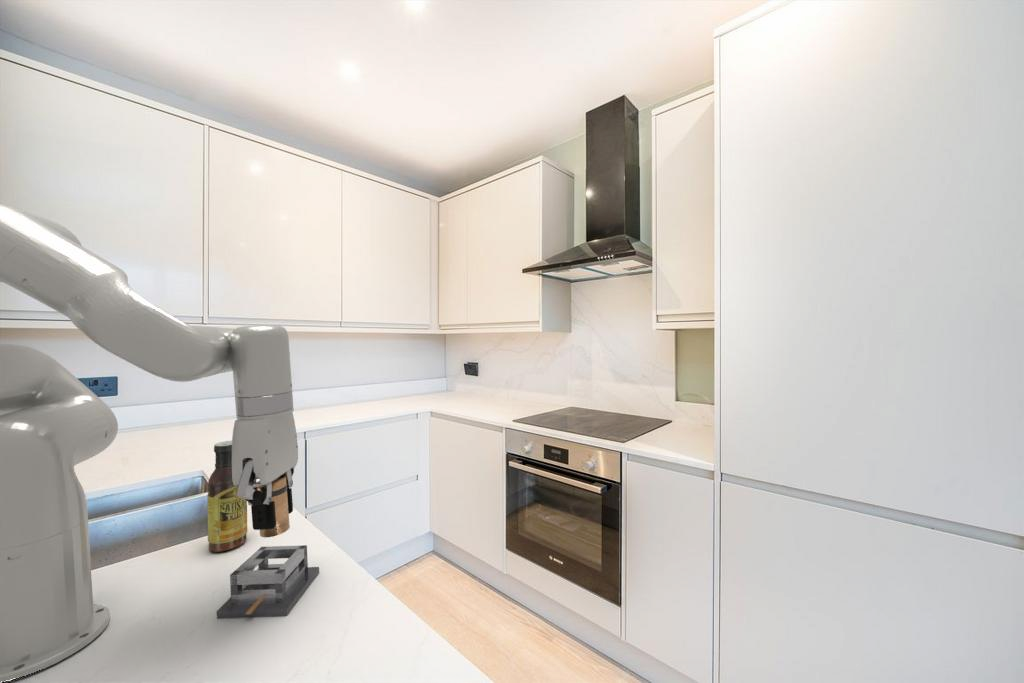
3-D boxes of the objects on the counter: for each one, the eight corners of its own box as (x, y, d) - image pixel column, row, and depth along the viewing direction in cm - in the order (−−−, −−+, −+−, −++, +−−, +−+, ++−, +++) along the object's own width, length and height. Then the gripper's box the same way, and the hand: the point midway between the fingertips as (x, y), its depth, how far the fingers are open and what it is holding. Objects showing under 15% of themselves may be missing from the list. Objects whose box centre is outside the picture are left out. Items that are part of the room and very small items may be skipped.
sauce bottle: (222, 556, 72) (217, 450, 72) (200, 550, 74) (195, 447, 74) (256, 538, 78) (252, 440, 78) (235, 533, 81) (230, 437, 80)
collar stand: (212, 622, 56) (210, 584, 56) (259, 574, 67) (258, 542, 66) (283, 619, 56) (282, 582, 56) (319, 572, 67) (318, 541, 67)
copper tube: (253, 538, 60) (249, 486, 59) (269, 524, 64) (266, 476, 63) (280, 536, 60) (276, 485, 59) (295, 523, 64) (291, 474, 63)
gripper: (272, 396, 69) (280, 498, 70) (198, 419, 52) (209, 553, 53) (315, 394, 69) (322, 496, 70) (255, 416, 52) (265, 550, 53)
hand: (273, 519), depth 62 cm, fingers closed on copper tube, 4 cm apart
